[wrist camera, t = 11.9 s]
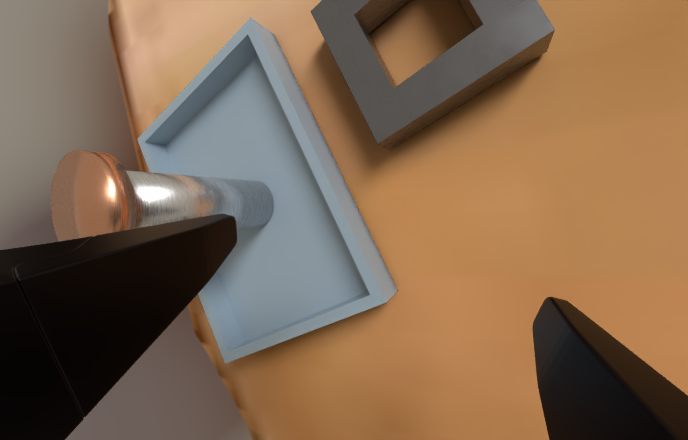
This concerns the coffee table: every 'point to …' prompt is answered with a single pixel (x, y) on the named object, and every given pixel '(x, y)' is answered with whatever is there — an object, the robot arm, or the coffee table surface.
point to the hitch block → (439, 75)
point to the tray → (288, 193)
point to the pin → (145, 197)
